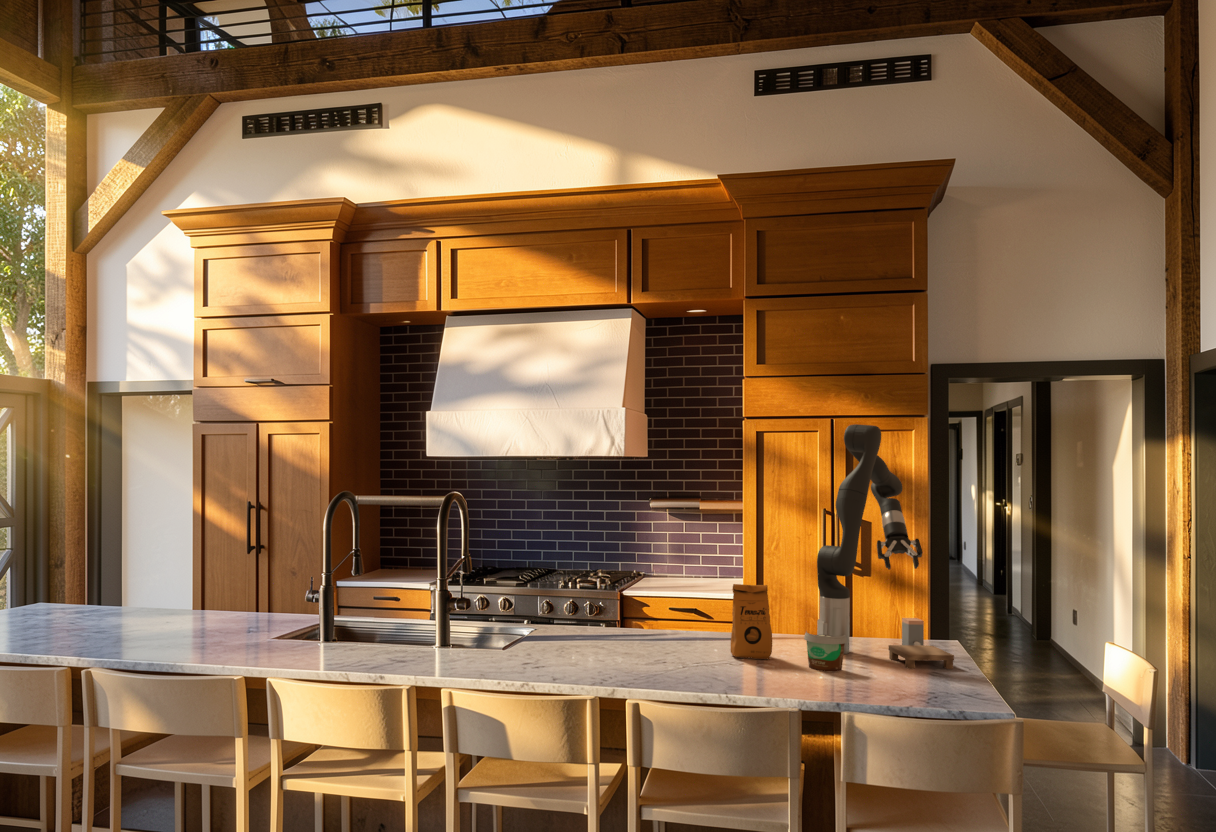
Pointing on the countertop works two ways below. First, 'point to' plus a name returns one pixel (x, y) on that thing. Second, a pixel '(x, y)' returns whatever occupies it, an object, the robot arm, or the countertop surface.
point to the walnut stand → (920, 654)
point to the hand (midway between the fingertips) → (902, 568)
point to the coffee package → (751, 622)
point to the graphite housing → (912, 631)
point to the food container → (825, 652)
